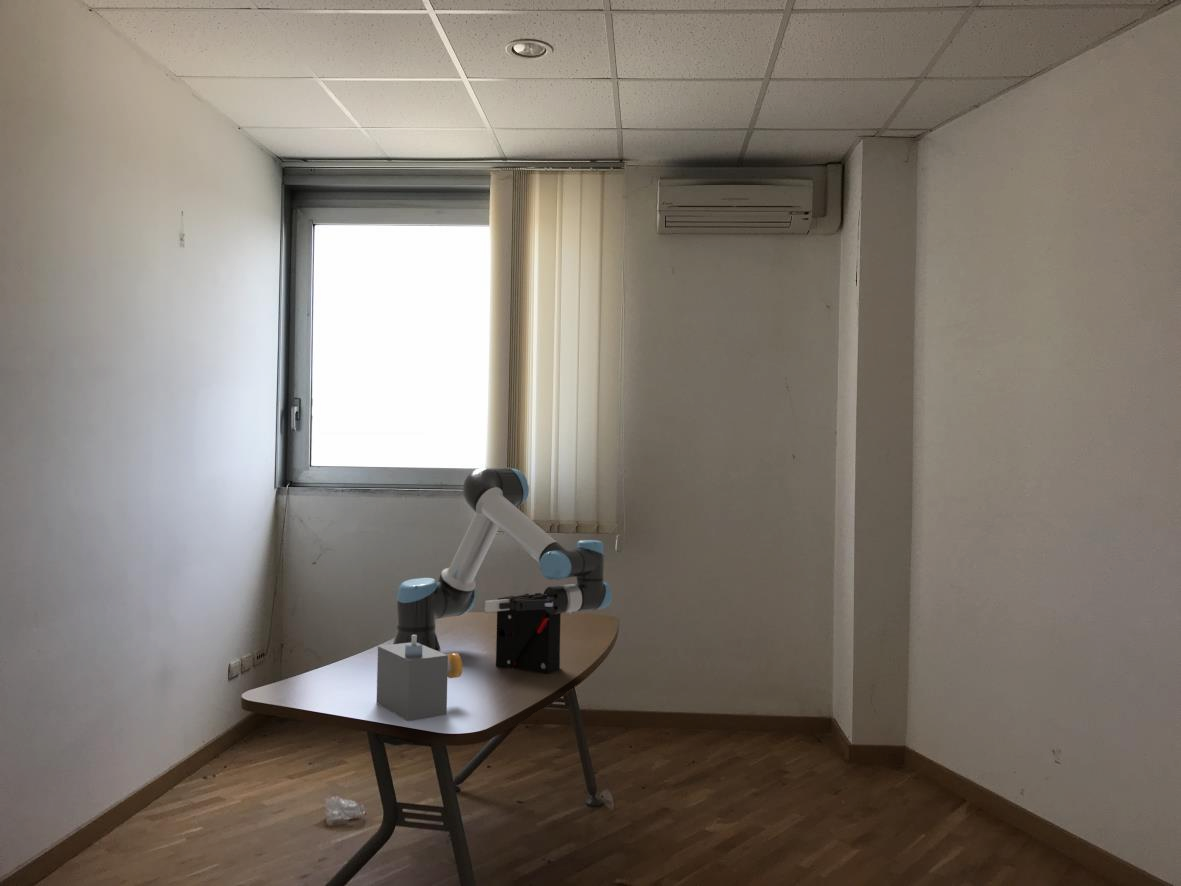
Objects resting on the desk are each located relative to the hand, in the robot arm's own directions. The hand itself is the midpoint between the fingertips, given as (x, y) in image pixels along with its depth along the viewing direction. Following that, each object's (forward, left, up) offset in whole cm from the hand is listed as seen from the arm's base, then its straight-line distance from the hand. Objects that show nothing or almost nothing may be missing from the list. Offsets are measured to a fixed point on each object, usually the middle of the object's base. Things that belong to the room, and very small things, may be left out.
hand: (486, 606), depth 224 cm
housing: (0, -20, -23) cm, 31 cm away
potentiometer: (+5, -22, -9) cm, 25 cm away
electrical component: (-20, +27, -23) cm, 41 cm away
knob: (0, -12, -17) cm, 21 cm away
